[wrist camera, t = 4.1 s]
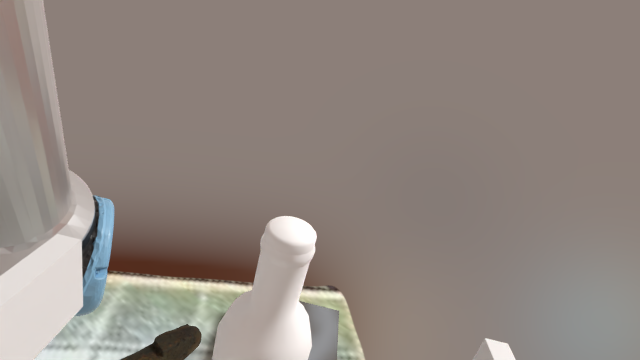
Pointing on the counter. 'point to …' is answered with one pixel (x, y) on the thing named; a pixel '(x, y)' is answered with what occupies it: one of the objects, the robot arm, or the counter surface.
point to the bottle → (272, 300)
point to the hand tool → (170, 345)
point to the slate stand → (322, 332)
